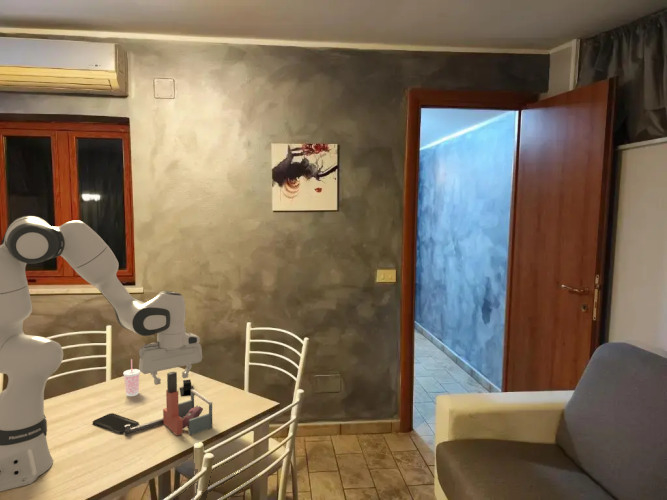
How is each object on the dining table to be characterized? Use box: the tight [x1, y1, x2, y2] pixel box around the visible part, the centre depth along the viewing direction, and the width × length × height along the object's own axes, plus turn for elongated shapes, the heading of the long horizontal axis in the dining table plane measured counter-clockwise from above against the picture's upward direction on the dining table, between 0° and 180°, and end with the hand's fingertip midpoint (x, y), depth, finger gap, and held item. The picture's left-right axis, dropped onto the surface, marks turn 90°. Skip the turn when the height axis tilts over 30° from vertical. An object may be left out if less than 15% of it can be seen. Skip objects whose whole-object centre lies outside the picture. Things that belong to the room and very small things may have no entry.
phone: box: [92, 412, 140, 435], centre depth 157 cm, size 8×1×15 cm
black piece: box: [179, 379, 196, 398], centre depth 185 cm, size 12×7×5 cm, turn 22°
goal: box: [178, 388, 213, 436], centre depth 158 cm, size 8×15×9 cm, turn 42°
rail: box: [123, 418, 165, 436], centre depth 154 cm, size 14×1×3 cm, turn 132°
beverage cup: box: [122, 358, 141, 397], centre depth 181 cm, size 6×6×14 cm
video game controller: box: [182, 405, 204, 430], centre depth 158 cm, size 10×5×7 cm, turn 170°
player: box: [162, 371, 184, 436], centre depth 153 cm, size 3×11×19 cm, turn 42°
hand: (171, 380), depth 152 cm, fingers open, 8 cm apart
